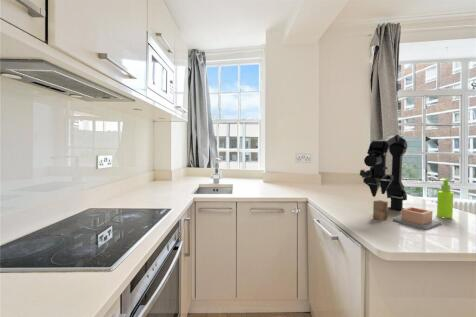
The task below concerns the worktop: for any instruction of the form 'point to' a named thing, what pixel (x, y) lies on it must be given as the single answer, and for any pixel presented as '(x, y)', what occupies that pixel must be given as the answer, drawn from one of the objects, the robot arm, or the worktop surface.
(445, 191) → the soap dispenser
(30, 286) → the worktop surface
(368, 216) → the worktop surface
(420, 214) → the terracotta well
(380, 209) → the walnut block
